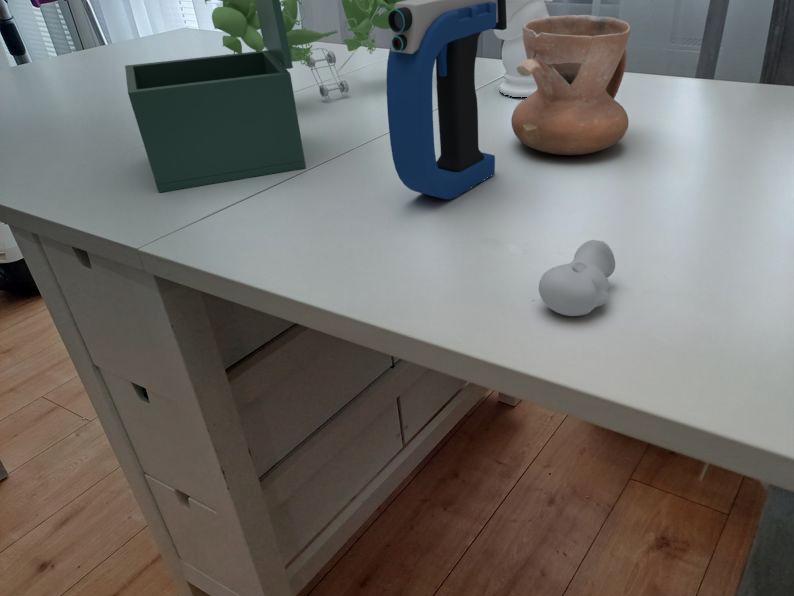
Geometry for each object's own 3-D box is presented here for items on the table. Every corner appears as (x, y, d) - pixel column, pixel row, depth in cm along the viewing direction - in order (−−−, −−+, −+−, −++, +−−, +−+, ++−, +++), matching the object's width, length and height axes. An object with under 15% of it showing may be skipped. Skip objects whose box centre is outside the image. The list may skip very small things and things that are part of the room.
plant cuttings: (217, 154, 104) (248, 87, 85) (169, 52, 103) (189, -40, 84) (398, 109, 122) (456, 45, 103) (359, 21, 121) (411, -61, 102)
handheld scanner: (509, 168, 78) (510, -21, 67) (428, 217, 68) (412, 3, 56) (477, 161, 80) (472, -22, 69) (394, 208, 70) (371, 0, 58)
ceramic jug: (560, 178, 76) (570, 44, 67) (480, 146, 85) (479, 24, 77) (660, 143, 85) (679, 21, 76) (578, 117, 94) (587, 6, 85)
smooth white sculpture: (573, 341, 51) (522, 304, 53) (624, 297, 56) (576, 264, 58) (591, 302, 48) (537, 264, 50) (644, 259, 53) (593, 225, 55)
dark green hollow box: (158, 192, 74) (127, 92, 68) (152, 156, 84) (124, 65, 78) (306, 168, 80) (290, 73, 73) (284, 136, 90) (268, 50, 83)
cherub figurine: (568, 88, 106) (579, -73, 93) (538, 109, 97) (546, -66, 84) (500, 81, 111) (501, -74, 98) (465, 100, 102) (462, -68, 89)
